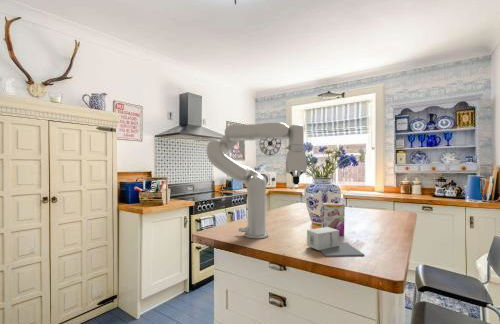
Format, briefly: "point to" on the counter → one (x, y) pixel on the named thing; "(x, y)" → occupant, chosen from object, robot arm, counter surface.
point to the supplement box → (322, 238)
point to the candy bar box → (333, 216)
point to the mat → (341, 251)
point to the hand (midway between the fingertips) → (296, 184)
